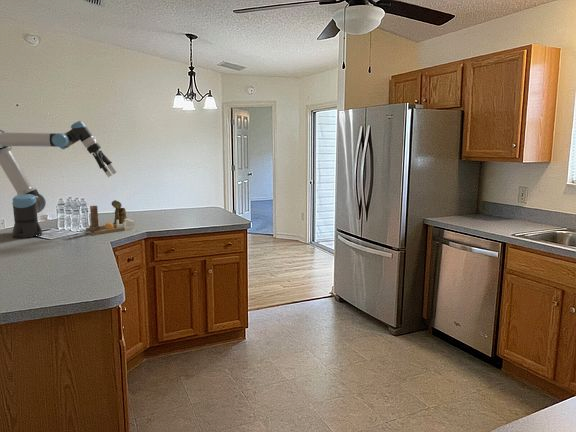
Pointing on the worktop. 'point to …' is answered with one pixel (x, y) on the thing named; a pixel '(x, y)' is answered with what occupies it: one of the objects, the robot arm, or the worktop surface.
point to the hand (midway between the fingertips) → (112, 174)
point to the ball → (109, 226)
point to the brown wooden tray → (116, 228)
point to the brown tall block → (94, 219)
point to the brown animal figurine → (119, 212)
